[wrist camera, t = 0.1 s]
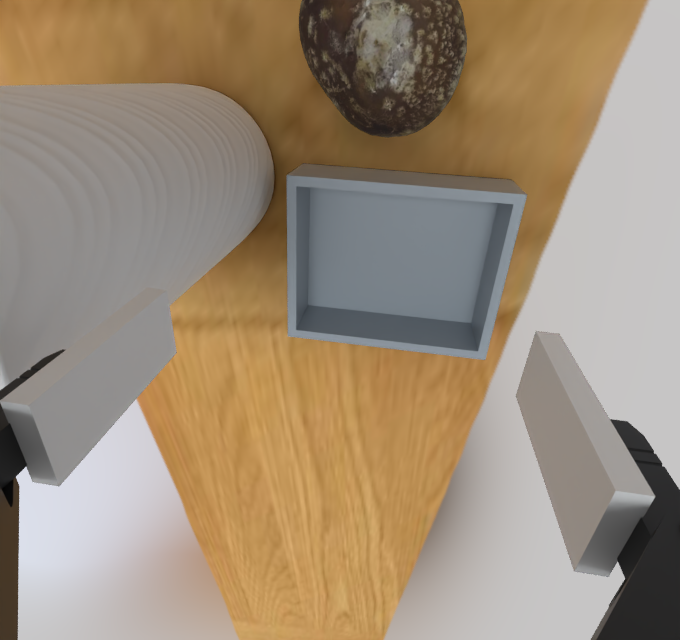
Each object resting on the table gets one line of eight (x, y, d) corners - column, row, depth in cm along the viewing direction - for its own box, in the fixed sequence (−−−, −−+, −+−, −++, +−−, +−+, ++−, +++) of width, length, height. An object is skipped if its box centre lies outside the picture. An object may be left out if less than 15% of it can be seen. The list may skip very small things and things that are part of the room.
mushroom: (463, 93, 36) (493, 99, 23) (366, 140, 38) (343, 170, 25) (423, -38, 32) (431, -121, 19) (319, 25, 35) (264, -11, 22)
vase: (253, 65, 37) (-211, 10, 9) (295, 229, 43) (90, 482, 16) (108, 103, 40) (-553, 144, 13) (167, 250, 46) (-189, 493, 19)
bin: (302, 163, 40) (286, 175, 35) (511, 179, 38) (527, 194, 33) (301, 308, 47) (287, 336, 42) (476, 328, 45) (485, 359, 40)
